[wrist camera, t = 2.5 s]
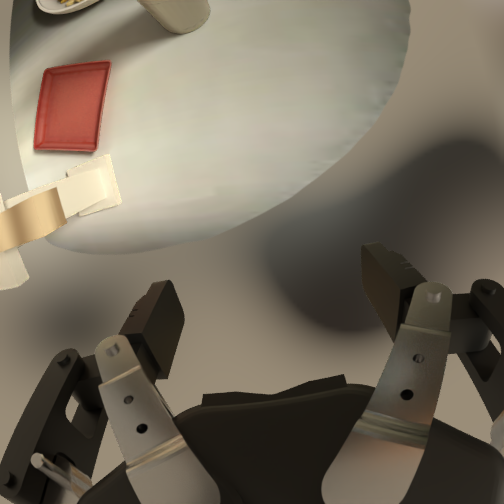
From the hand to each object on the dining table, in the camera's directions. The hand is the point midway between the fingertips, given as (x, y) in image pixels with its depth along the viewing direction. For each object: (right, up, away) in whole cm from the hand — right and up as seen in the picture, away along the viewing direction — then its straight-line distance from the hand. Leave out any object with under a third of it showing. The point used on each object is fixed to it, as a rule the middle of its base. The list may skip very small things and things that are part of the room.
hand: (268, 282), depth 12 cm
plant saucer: (-36, +31, +31) cm, 57 cm away
